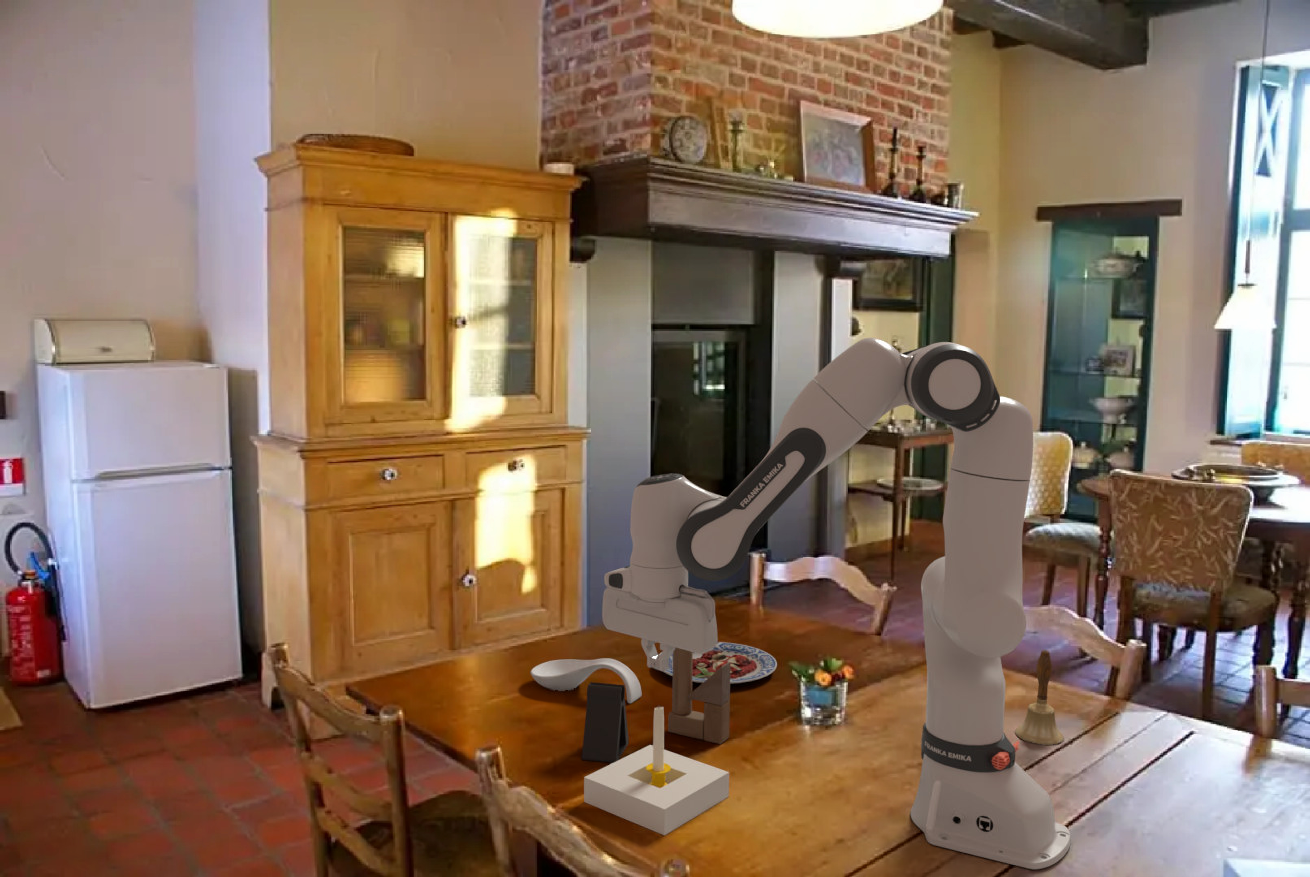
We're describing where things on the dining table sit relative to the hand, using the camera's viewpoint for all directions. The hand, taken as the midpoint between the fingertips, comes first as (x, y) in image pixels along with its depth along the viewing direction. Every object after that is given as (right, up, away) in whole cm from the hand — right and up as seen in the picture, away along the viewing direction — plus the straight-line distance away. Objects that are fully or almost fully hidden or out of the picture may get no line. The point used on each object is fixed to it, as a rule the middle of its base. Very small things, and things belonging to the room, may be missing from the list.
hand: (658, 668), depth 158 cm
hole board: (0, -21, +2) cm, 21 cm away
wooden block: (+7, -18, +27) cm, 34 cm away
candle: (0, -21, +2) cm, 21 cm away
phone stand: (-9, -19, +20) cm, 29 cm away
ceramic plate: (+13, -15, +62) cm, 65 cm away
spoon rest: (-14, -16, +49) cm, 54 cm away
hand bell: (+69, -19, +28) cm, 77 cm away
